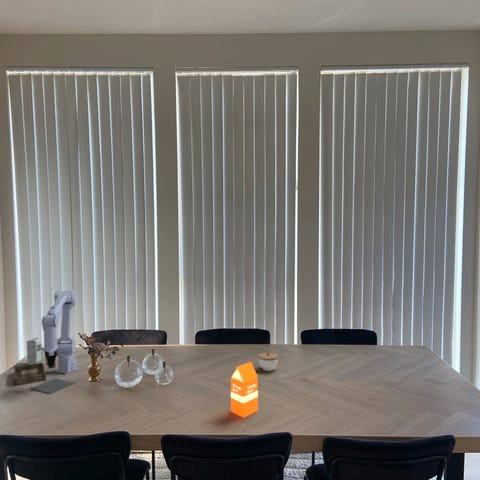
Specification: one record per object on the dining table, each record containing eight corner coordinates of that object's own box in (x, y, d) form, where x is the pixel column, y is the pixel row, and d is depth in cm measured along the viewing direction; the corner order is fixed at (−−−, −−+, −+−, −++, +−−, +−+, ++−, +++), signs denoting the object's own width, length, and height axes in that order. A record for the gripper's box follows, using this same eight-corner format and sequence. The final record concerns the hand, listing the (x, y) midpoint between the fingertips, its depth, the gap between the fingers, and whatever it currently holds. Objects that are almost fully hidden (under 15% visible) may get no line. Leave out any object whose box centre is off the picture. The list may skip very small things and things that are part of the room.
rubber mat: (74, 383, 191) (74, 382, 191) (49, 394, 179) (49, 393, 179) (55, 379, 197) (55, 378, 197) (30, 389, 185) (30, 388, 185)
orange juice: (230, 411, 160) (230, 364, 160) (245, 404, 166) (245, 359, 166) (243, 417, 154) (243, 369, 154) (258, 410, 161) (258, 364, 160)
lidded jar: (257, 371, 205) (256, 354, 205) (260, 365, 216) (260, 348, 216) (276, 373, 203) (276, 356, 203) (279, 366, 213) (279, 350, 213)
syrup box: (36, 365, 218) (36, 340, 218) (26, 365, 219) (26, 340, 218) (42, 361, 224) (41, 337, 224) (32, 361, 224) (32, 337, 224)
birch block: (55, 365, 191) (55, 355, 191) (55, 368, 187) (55, 358, 187) (45, 366, 189) (45, 356, 188) (45, 369, 185) (45, 359, 185)
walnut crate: (43, 368, 213) (42, 362, 213) (45, 380, 196) (45, 373, 196) (14, 373, 206) (14, 367, 206) (14, 386, 189) (14, 379, 189)
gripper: (41, 336, 192) (41, 363, 192) (42, 343, 179) (42, 372, 179) (56, 334, 195) (56, 360, 196) (58, 341, 183) (58, 369, 183)
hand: (51, 366), depth 188 cm, fingers closed on birch block, 4 cm apart
